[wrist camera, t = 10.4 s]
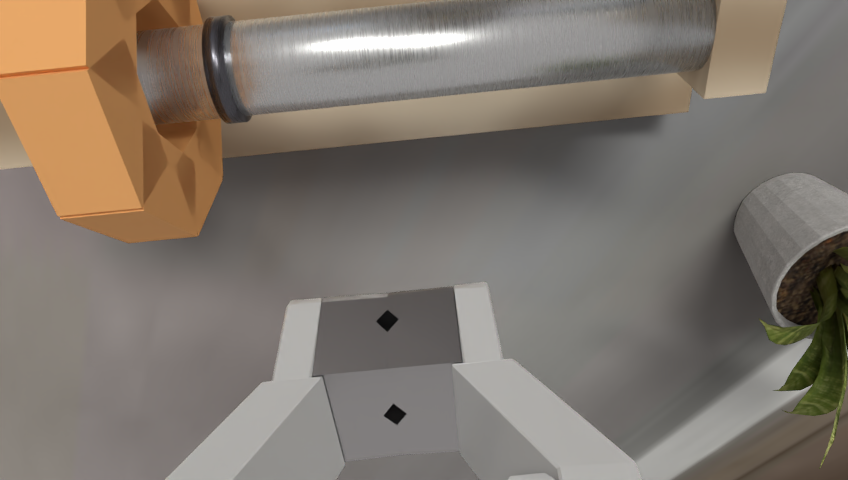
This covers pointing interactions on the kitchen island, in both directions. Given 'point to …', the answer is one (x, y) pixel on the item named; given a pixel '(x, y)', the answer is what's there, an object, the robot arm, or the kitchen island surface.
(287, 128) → the pipe stand
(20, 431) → the kitchen island surface
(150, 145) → the orange faceted ring
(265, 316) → the kitchen island surface
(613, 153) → the kitchen island surface
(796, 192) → the house plant
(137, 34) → the steel pipe
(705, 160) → the kitchen island surface
